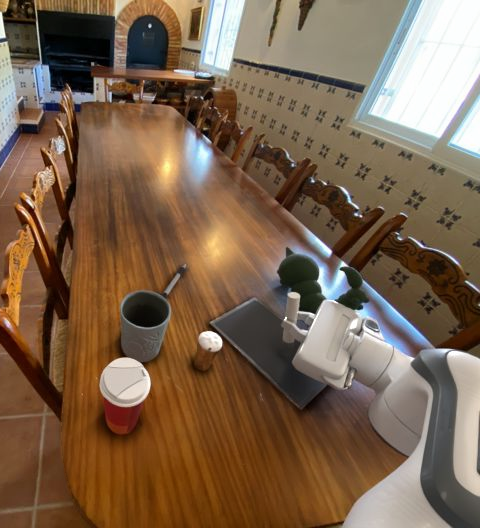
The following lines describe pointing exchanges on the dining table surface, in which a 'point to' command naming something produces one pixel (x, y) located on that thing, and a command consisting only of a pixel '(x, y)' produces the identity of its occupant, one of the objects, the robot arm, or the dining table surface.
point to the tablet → (267, 349)
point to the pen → (174, 281)
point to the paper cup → (124, 393)
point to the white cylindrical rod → (291, 316)
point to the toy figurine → (305, 283)
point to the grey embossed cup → (143, 324)
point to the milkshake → (207, 350)
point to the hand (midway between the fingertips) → (285, 316)
